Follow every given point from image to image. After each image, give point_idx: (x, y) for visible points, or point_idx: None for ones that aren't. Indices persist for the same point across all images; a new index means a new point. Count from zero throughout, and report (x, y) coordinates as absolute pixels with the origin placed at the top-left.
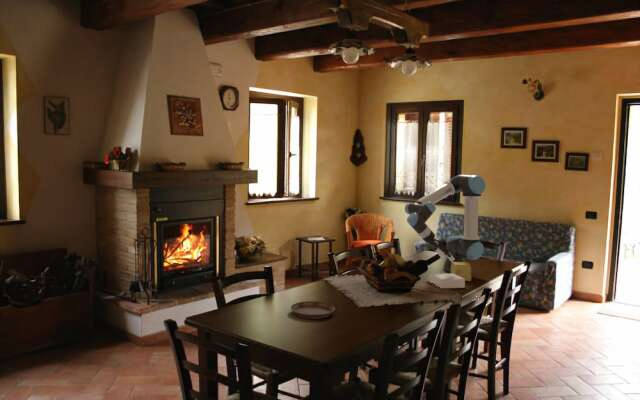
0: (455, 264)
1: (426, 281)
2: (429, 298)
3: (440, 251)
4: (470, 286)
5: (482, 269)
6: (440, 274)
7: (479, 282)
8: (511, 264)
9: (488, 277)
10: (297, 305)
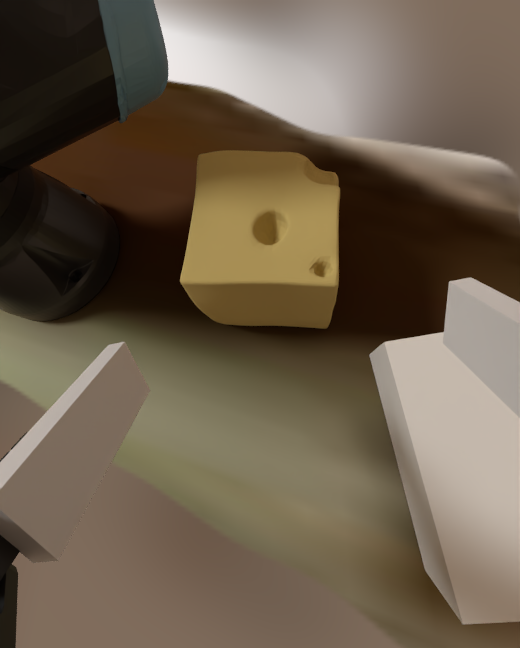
0: (314, 279)
1: (398, 594)
2: None
3: (81, 423)
4: (509, 271)
5: None
6: (461, 493)
7: (368, 192)
8: None
9: (234, 127)
10: None
